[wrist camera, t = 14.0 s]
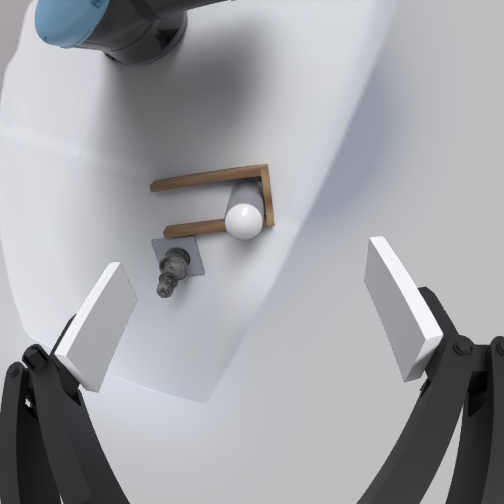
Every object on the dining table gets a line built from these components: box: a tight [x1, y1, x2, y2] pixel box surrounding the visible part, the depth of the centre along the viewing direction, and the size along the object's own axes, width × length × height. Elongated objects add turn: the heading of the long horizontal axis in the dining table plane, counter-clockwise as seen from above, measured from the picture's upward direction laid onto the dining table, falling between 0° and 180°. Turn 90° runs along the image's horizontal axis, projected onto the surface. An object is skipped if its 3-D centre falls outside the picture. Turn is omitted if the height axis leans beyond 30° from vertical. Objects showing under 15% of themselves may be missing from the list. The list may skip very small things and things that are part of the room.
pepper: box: [225, 180, 264, 240], centre depth 44 cm, size 6×6×11 cm
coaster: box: [151, 235, 205, 276], centre depth 55 cm, size 9×9×1 cm
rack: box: [150, 164, 275, 238], centre depth 48 cm, size 10×20×2 cm, turn 98°
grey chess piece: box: [157, 247, 191, 298], centre depth 50 cm, size 6×6×12 cm
